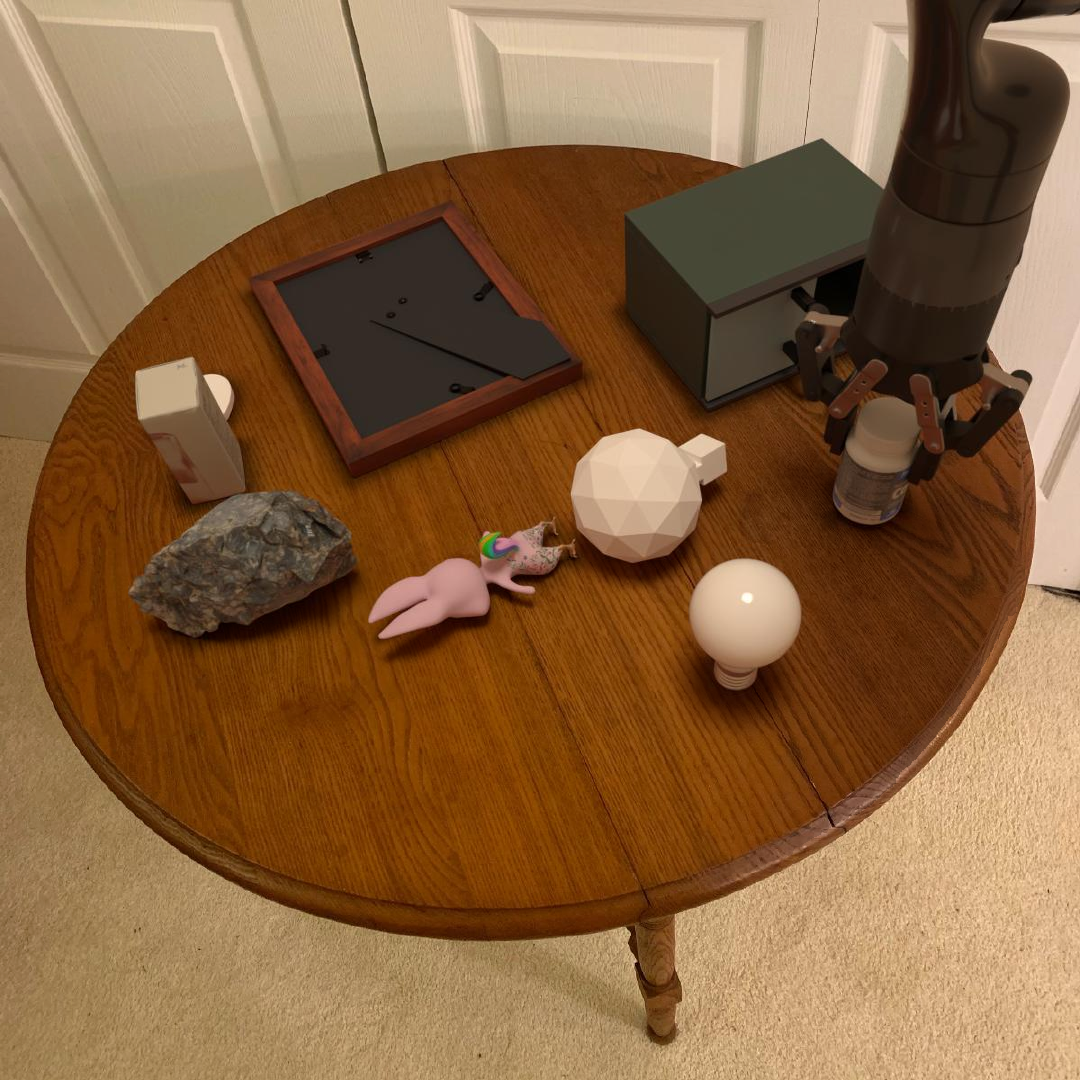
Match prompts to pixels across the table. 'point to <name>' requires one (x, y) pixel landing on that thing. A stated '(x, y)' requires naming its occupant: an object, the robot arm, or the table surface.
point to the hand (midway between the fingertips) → (878, 459)
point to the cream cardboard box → (189, 430)
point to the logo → (221, 392)
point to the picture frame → (411, 335)
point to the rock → (244, 562)
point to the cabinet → (746, 252)
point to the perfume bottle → (643, 492)
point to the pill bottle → (877, 461)
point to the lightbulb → (744, 618)
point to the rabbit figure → (467, 581)
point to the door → (756, 340)
